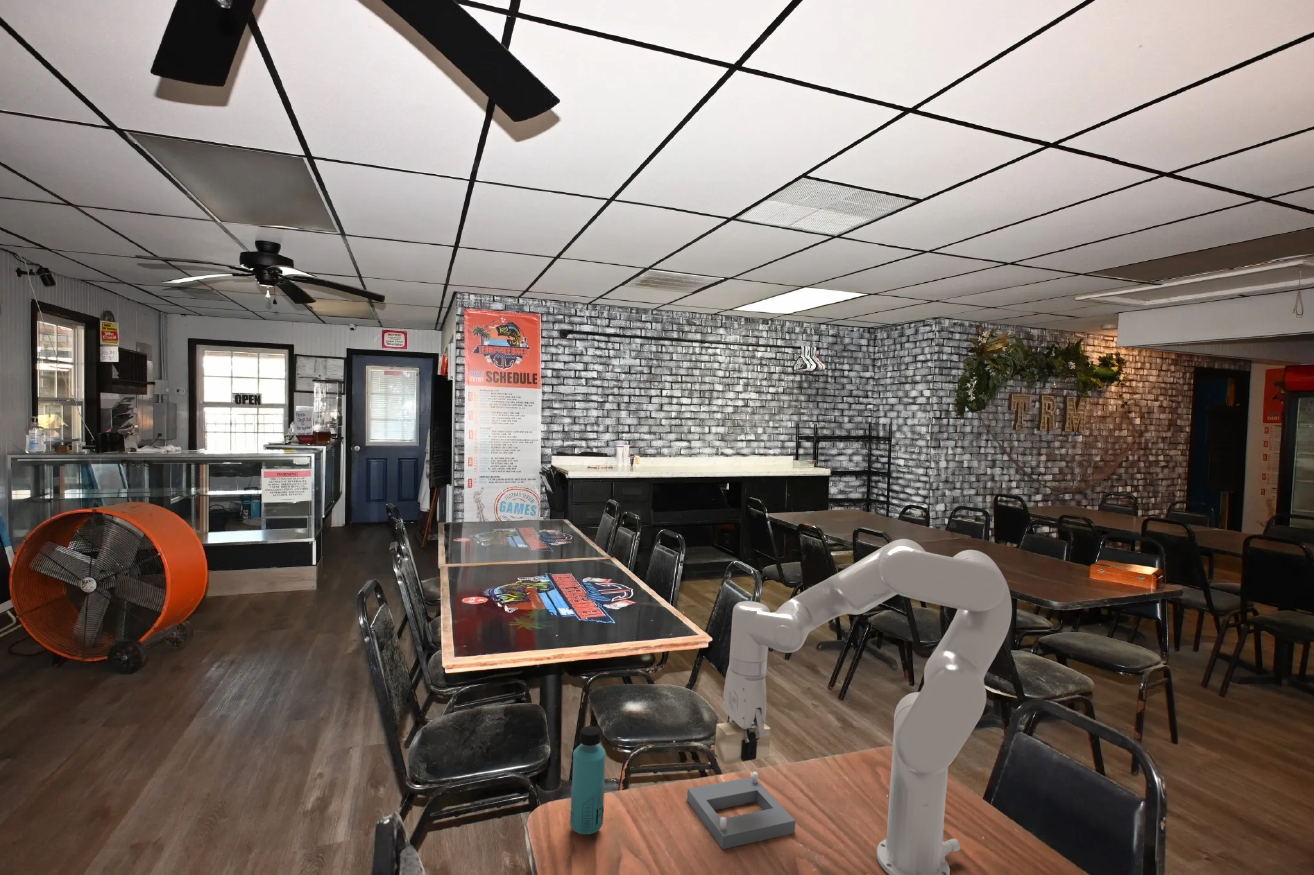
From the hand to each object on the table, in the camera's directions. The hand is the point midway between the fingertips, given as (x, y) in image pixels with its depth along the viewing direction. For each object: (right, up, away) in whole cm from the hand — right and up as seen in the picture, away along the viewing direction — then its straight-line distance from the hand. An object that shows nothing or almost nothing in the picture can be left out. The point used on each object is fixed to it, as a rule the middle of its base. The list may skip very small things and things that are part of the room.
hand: (741, 752), depth 131 cm
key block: (0, -1, 0) cm, 1 cm away
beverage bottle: (-31, -12, -7) cm, 34 cm away
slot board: (-1, -13, 0) cm, 13 cm away
